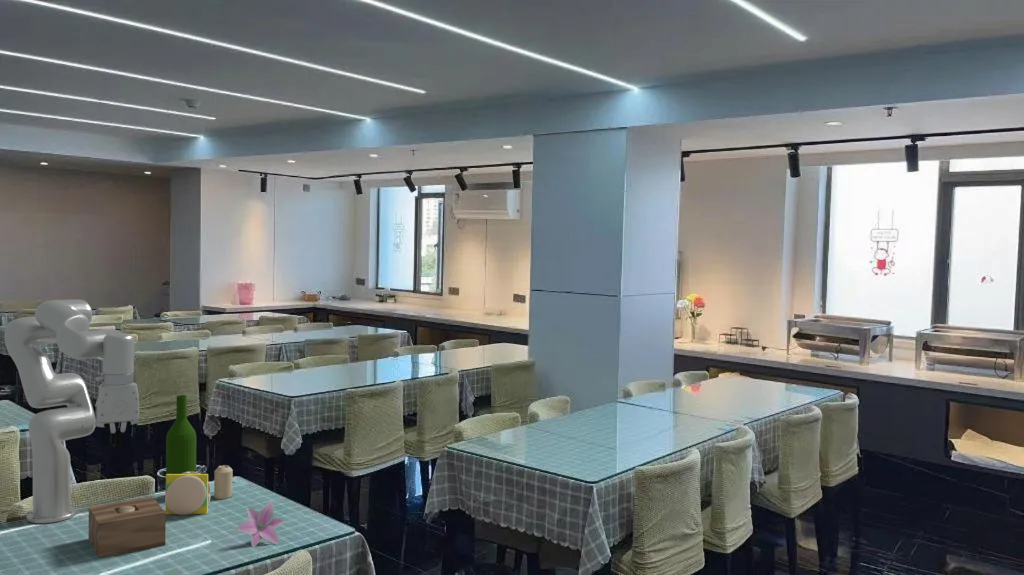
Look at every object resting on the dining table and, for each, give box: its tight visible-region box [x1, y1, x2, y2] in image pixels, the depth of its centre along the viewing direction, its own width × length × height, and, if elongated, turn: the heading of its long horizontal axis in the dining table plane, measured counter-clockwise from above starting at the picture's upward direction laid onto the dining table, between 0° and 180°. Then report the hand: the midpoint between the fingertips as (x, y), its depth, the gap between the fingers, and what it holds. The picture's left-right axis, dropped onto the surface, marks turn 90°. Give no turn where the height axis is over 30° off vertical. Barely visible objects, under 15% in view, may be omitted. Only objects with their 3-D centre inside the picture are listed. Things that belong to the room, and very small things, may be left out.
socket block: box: [88, 496, 167, 559], centre depth 207 cm, size 16×16×9 cm
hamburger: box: [164, 471, 212, 516], centre depth 232 cm, size 12×8×12 cm
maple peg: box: [118, 506, 135, 514], centre depth 207 cm, size 4×4×7 cm
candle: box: [213, 464, 234, 500], centre depth 247 cm, size 6×6×10 cm
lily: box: [235, 500, 286, 548], centre depth 211 cm, size 12×12×10 cm
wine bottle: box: [165, 394, 197, 475], centre depth 246 cm, size 9×9×32 cm
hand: (116, 446), depth 207 cm, fingers closed
